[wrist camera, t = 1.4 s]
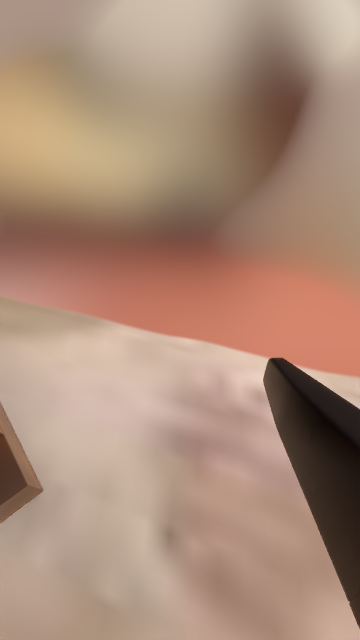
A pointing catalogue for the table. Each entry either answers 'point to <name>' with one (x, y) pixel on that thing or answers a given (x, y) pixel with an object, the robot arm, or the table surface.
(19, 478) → the book rack
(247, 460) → the table surface
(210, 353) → the table surface
